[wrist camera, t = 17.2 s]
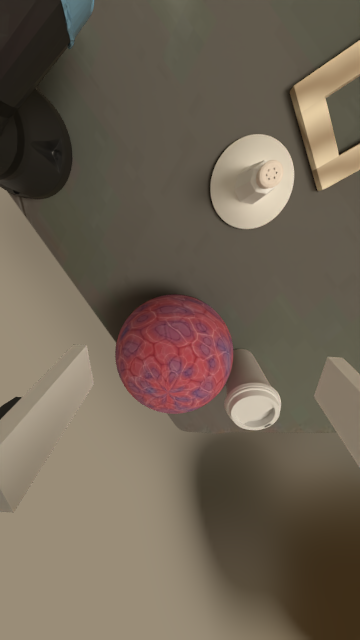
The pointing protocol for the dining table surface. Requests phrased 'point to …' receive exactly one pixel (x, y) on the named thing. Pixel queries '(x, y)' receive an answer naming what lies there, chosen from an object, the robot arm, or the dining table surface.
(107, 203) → the dining table surface
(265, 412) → the coffee cup
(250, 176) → the pepper shaker
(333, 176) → the birch frame
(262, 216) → the white plate
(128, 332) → the decorative sphere
